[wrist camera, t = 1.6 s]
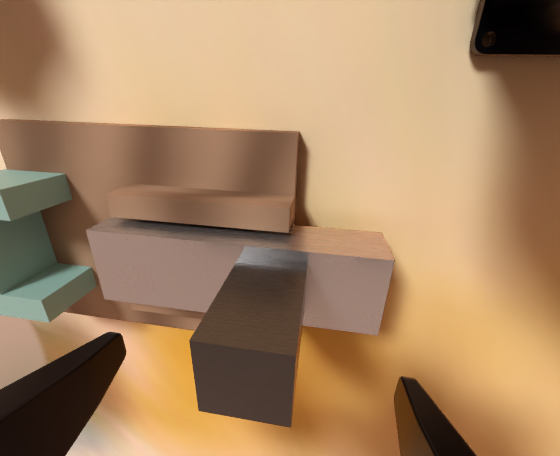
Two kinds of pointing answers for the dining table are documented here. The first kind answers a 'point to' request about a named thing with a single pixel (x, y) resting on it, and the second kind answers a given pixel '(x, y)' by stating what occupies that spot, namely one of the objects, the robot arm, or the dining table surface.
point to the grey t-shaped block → (247, 298)
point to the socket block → (35, 249)
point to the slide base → (154, 187)
